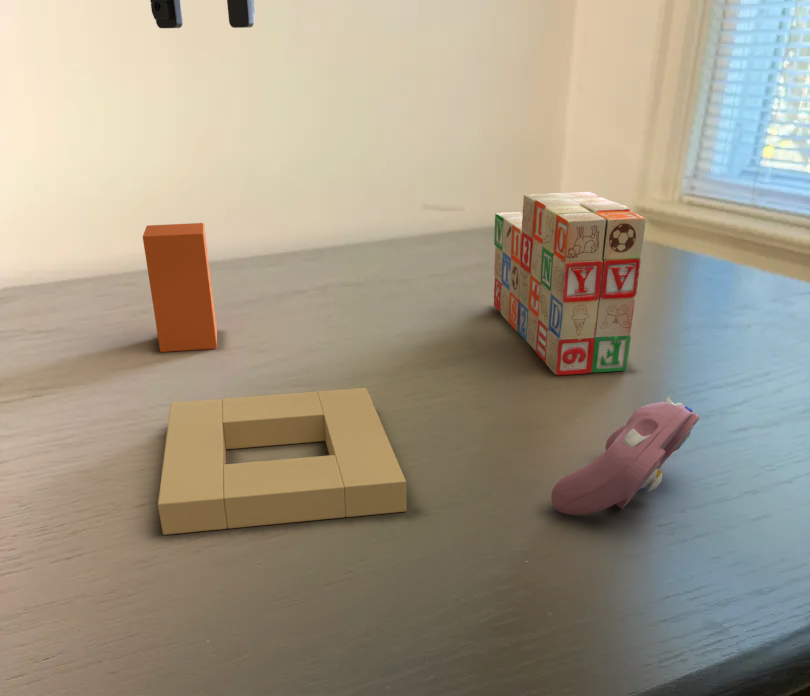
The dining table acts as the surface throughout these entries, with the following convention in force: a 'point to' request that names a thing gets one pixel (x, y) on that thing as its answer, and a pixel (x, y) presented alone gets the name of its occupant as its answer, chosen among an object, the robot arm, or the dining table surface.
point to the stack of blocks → (570, 278)
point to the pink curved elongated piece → (627, 460)
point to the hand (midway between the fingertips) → (207, 27)
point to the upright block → (180, 286)
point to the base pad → (276, 462)
